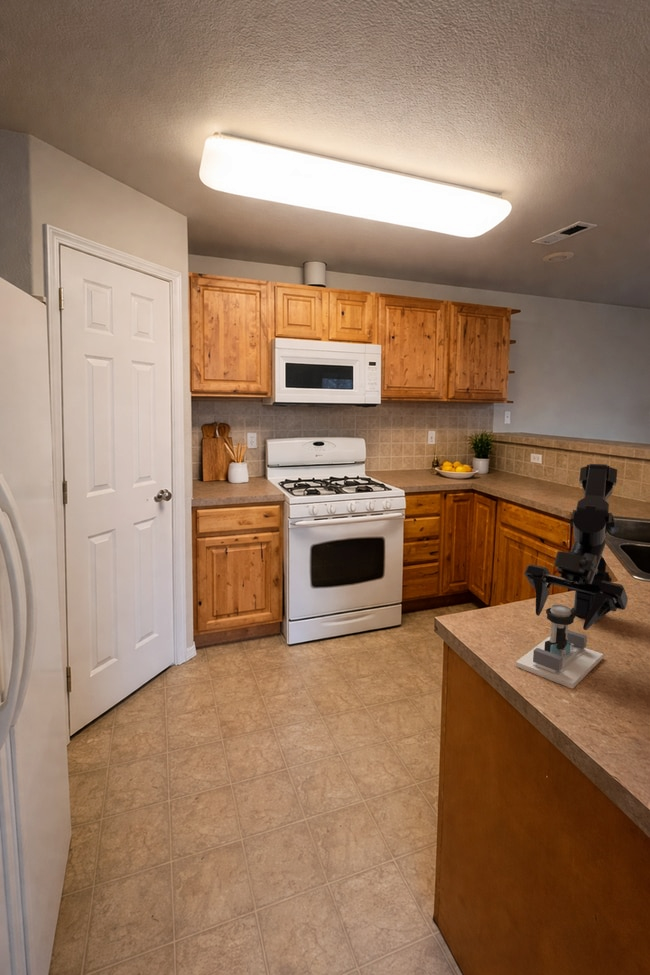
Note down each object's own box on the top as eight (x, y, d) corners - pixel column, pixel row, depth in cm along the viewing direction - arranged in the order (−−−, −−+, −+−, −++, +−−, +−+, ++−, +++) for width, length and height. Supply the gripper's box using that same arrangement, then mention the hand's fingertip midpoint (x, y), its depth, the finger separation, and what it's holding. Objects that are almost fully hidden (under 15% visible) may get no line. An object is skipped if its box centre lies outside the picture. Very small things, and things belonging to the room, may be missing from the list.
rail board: (549, 640, 108) (550, 622, 107) (602, 658, 100) (604, 639, 99) (515, 666, 97) (516, 646, 97) (572, 688, 89) (574, 667, 89)
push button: (562, 645, 102) (566, 600, 100) (583, 657, 97) (587, 610, 95) (537, 650, 100) (540, 605, 98) (557, 662, 95) (560, 615, 93)
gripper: (530, 528, 104) (503, 589, 98) (628, 545, 90) (603, 617, 85) (544, 555, 110) (519, 614, 105) (637, 574, 97) (614, 644, 91)
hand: (559, 621), depth 96 cm, fingers open, 9 cm apart
